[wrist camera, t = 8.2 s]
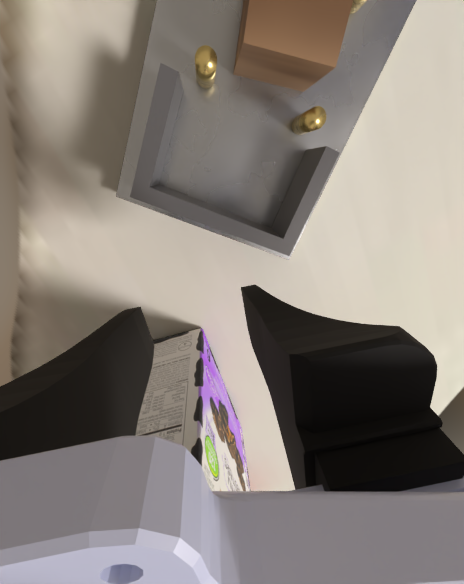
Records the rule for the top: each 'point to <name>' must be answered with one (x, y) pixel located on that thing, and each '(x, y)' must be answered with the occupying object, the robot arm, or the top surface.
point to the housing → (151, 192)
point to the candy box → (194, 409)
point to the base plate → (250, 107)
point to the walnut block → (290, 40)
